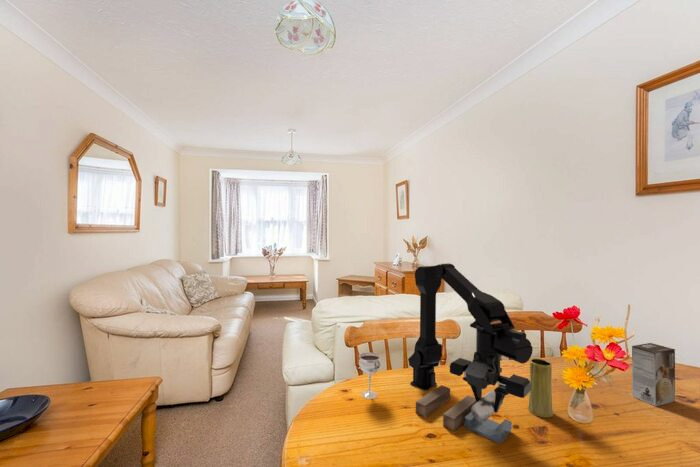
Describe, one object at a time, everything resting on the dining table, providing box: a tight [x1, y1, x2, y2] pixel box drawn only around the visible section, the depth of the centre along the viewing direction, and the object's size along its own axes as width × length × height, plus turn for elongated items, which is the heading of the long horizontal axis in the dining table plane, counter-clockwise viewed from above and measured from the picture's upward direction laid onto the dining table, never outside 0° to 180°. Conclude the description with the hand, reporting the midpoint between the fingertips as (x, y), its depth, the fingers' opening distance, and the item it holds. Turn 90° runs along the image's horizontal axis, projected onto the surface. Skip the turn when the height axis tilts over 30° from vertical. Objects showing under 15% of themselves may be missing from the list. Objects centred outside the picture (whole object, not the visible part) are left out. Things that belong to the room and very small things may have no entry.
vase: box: [527, 358, 554, 419], centre depth 90 cm, size 6×6×14 cm
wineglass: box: [358, 352, 381, 400], centre depth 100 cm, size 7×7×12 cm
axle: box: [471, 390, 504, 422], centre depth 82 cm, size 10×4×4 cm, turn 135°
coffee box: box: [631, 342, 676, 407], centre depth 98 cm, size 9×6×16 cm
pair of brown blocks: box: [415, 384, 477, 432], centre depth 90 cm, size 12×14×3 cm
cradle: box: [463, 412, 513, 445], centre depth 82 cm, size 9×7×3 cm
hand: (487, 408), depth 82 cm, fingers closed on axle, 4 cm apart
